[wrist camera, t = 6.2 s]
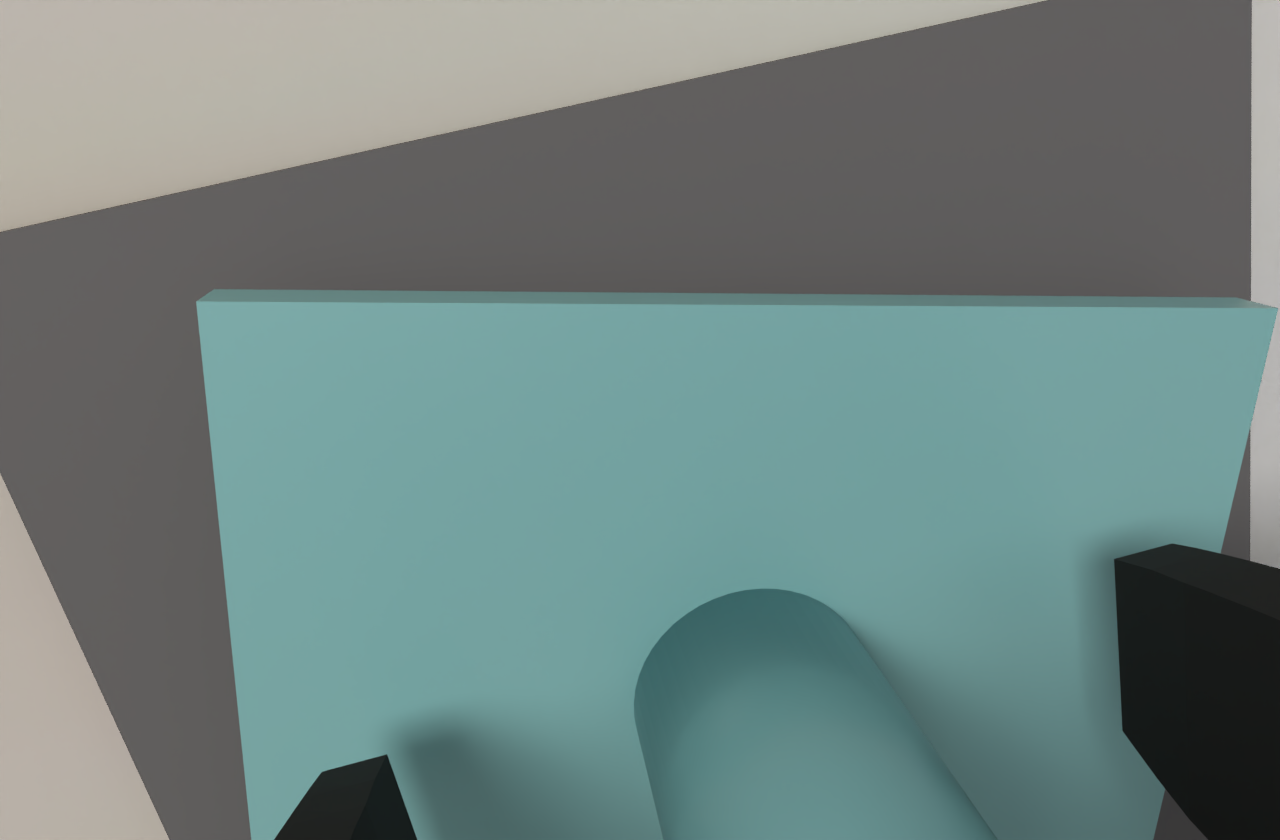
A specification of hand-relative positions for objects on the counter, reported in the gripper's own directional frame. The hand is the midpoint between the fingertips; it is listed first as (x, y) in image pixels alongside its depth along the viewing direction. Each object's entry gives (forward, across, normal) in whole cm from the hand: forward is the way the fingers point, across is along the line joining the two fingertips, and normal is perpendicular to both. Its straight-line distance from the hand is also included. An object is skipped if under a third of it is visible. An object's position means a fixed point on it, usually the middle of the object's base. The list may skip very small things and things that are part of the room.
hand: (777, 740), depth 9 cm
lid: (+2, 0, 0) cm, 2 cm away
